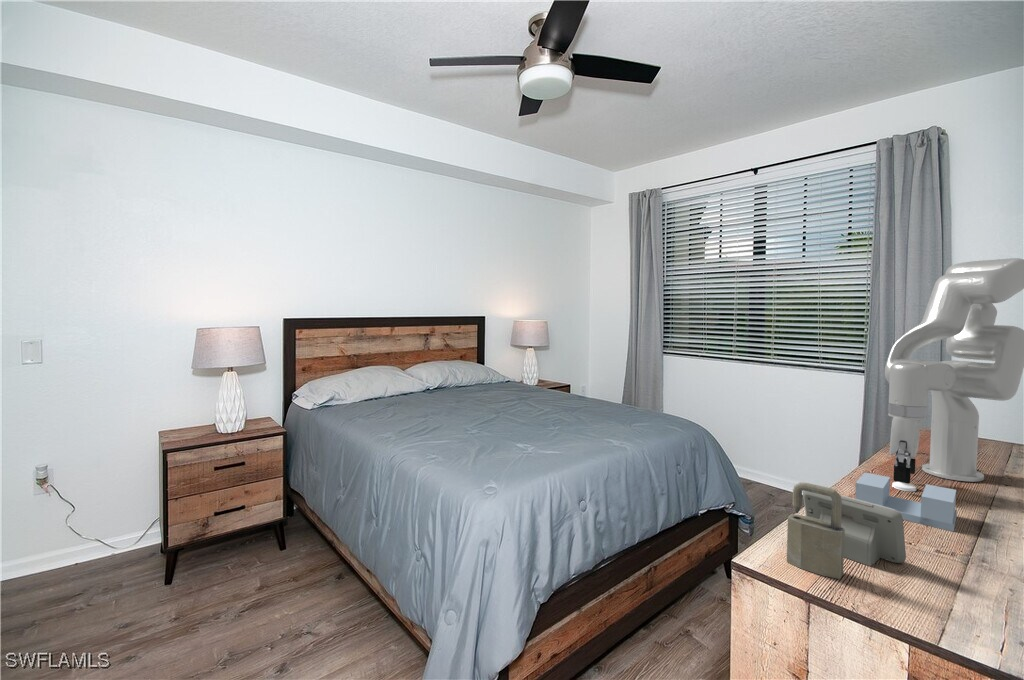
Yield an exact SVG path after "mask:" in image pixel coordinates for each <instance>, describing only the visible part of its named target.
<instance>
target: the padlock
mask: <svg viewBox="0 0 1024 680" xmlns="http://www.w3.org/2000/svg"><path fill="white" fill-rule="evenodd" d="M803 490H804V491H809V492H813V493H817V494H822V495H826V496H830V497H831V498H832V510H831V522H827V521H823V520H820V519H816V518H812V517H808V516H806V515H803V514H802V515H800V514H799V512H800V510H801V508H802V505H803V499H802V498H803ZM840 495H841V494H840V493H839V492H838V491H836V489H833V488H831V487H827V486H824V485H818V484H813V483H809V482H804V481H803V482H801V481H800V482H798V483H795V484H794V486H793V488H792V507H793V510H794V513H790V515H789V516H788V517H787V530H786V531H787V533H786V536H787V540H786V562H787V563H789V564H791V565H793V566H796V567H797V568H799V569H802V570H805V571H808V572H810V573H814V574H816V575H819V576H822V577H828V578H832V579H838V580H841V579H842V576H843V575H844V560H845V559H844V558H845V557H844V534H845V528H844V527H841V510H842V500H841V496H840Z"/></svg>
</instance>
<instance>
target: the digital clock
mask: <svg viewBox="0 0 1024 680" xmlns="http://www.w3.org/2000/svg"><path fill="white" fill-rule="evenodd" d="M840 496H841V500H842V510H841V527H844V528H845V534H844V558H846V559H849V560H851V561H854V562H856V563H860V564H862V565H865V566H868V567H872V566H873V565H874V564H875V563H876V562H877V561H878V560H879V559H882V560H885V561H889V562H892V563H895V564H896V563H897V564H902V563H904V562H905V561H906V560H907V554H906V552H907V551H906V541H905V539H906V538H905V527H904V520H903V518H902V515H901V513H900V512H898V511H897V510H895V509H892V508H888V507H885V506H881V505H877V504H874V503H870V502H866V501H862V500H858V499H855V498H854V497H850V496H847V495H843V494H840ZM802 498H803V499H802V500H803V504H804V505H803V506H804V511H805V516H808V517H812V518H816V519H820V520H823V521H827V522H831V510H832V498H831V497H830V496H826V495H822V494H817V493H813V492H809V491H804V490H803V491H802Z"/></svg>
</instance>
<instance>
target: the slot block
mask: <svg viewBox="0 0 1024 680" xmlns="http://www.w3.org/2000/svg"><path fill="white" fill-rule="evenodd" d="M890 486H891V477H889V476H885V475H880V474H876V473H869V472H863V473H862V475H861V476H860V477H859V478H858V480H856V482H855V492H854V493H855V499H858V500H862V501H866V502H870V503H874V504H877V505H881V506H885V507H888V508H892V509H895V510H897V511H898V512H900V513H901V515H902V518H903V521H907V522H911V523H917V524H920V525H923V526H928V527H933V528H937V529H942V530H944V531H950V532H953V533H954V531H955V526H956V522H957V516H958V514H957V513H958V511H957V509H956V503H957V502H956V501H957V489H953V488H947V487H943V486H937V485H934V484H933V485H932V484H928V483H926V484H925V486H924V489H923V491H922V494H921V497H920V499H921V500H920V502H919V501H916V500H910V499H907V498H906V499H905V498H901V497H896V496H891V495H890V491H891V490H890V489H891V487H890Z"/></svg>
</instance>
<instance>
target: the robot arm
mask: <svg viewBox="0 0 1024 680" xmlns="http://www.w3.org/2000/svg"><path fill="white" fill-rule="evenodd" d="M1023 290H1024V259H1023V258H1020V257H1019V258H1017V257H1015V258H1013V257H1012V258H999V259H998V258H997V259H987V260H986V259H985V260H973V261H972V260H970V261H965V262H959V263H955V264H953V265H950V266H949V267H948V268H946V271H945V273H944V275H941V276H939V277H938V278H937V280H936V281H935V283H934V286H933V288H932V291H931V294H930V295H929V296H930V297H929V299H928V303H927V305H926V307H925V311H924V315H923V317H922V320H921V322H920V323H918V325H916V326H913V328H911V329H909V330H908V331H906V332H905V333H903V335H901V336H900V337H899V338H898V339H897V340H896V342H894V344H893V345H892V347H891V349H890V351H889V354H888V356H887V359H886V363H885V367H884V378H885V380H886V381H887V383H888V385H889V387H888V388H889V389H888V405H887V407H888V408H887V411H888V413H887V415H888V416H889V417H892V419H891V420H892V421H891V426H890V427H891V428H890V438H889V439H890V443H889V452H888V453H889V455H890V456H894V455H895V460H894V464H893V482H902V483H907V484H911V475H915V473H916V455H917V453H918V449H919V442H920V431H921V429H920V428H921V421H925V420H927V415H928V414H927V413H928V412H927V410H928V391H930V393H931V423H930V426H931V427H930V442H929V443H930V444H929V445H930V449H929V463H924V464H922V465H921V470H922V471H924V472H925V473H927V474H928V475H932V476H935V477H938V478H943V479H947V480H951V481H953V480H954V481H958V482H968V483H969V482H970V483H971V482H972V483H973V482H977V483H978V482H982V481H984V480H985V475H984V474H983V473H982V472H980V471H977V463H978V446H979V445H978V443H979V425H980V424H979V423H980V414H979V411H978V408H977V407H976V405H975V404H974V403H973V401H972V400H971V398H973V399H981V400H989V401H1001V402H1003V401H1008V400H1011V399H1013V398H1014V396H1015V395H1016V393H1017V392H1018V390H1019V386H1020V383H1021V378H1022V375H1023V373H1024V329H1023V328H1021V327H1018V326H1015V325H1014V326H1013V325H1003V324H1002V325H998V324H997V325H996V323H995V322H996V320H997V319H996V318H997V314H998V310H997V307H996V306H995V305H994V304H999V303H1003V302H1005V301H1007V300H1009V299H1011V298H1012V297H1014V296H1015V295H1017V294H1018V293H1020V292H1022V291H1023ZM945 339H946V342H945V350H946V353H947V354H948V356H949V355H950V357H953V358H957V359H964V360H943V361H934V360H922V359H912V358H911V359H909V358H910V357H911V356H912V354H914V353H915V352H916V351H917V350H918V349H920V348H922V347H924V346H926V345H929V344H931V343H932V344H933V343H935V342H939V341H942V340H945ZM967 360H968V361H967ZM969 360H974V361H969ZM975 360H976V361H975ZM977 361H991V362H992V363H991V362H977ZM993 362H994V363H993ZM905 454H906V455H905ZM906 459H907V461H906ZM906 462H907V463H906ZM909 466H910V467H909Z"/></svg>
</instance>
